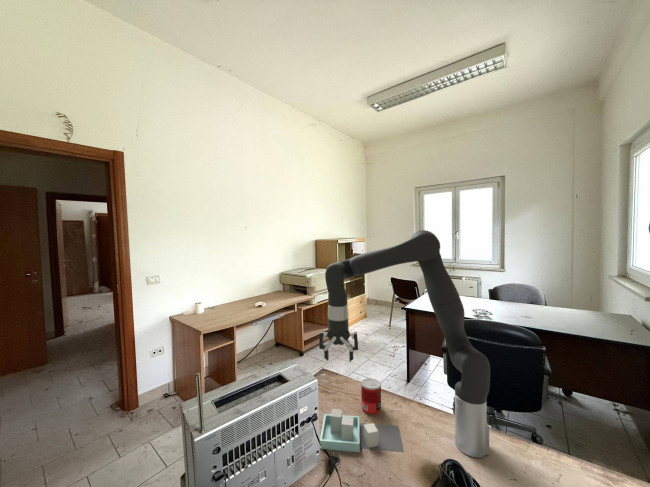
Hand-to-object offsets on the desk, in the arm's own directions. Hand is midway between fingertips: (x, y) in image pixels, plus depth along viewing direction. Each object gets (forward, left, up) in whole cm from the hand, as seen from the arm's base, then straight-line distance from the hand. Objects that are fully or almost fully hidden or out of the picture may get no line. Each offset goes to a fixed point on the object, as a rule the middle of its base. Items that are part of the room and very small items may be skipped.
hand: (339, 360), depth 97 cm
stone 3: (-11, +6, -25) cm, 28 cm away
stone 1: (+1, +1, -25) cm, 25 cm away
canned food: (-12, -12, -26) cm, 31 cm away
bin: (-1, +4, -26) cm, 26 cm away
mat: (-15, +3, -26) cm, 30 cm away
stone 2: (-3, +5, -25) cm, 26 cm away
